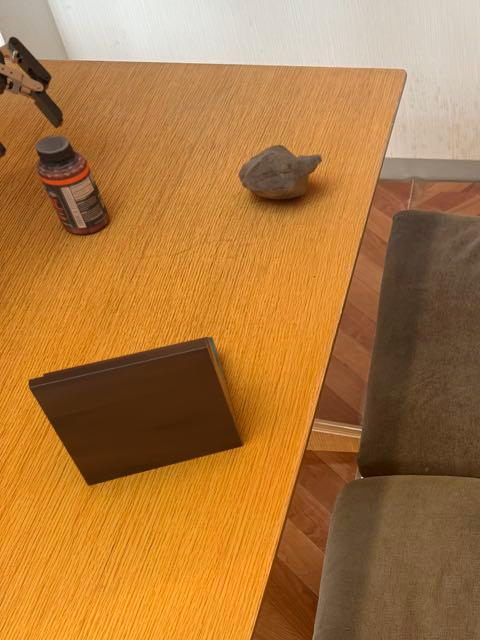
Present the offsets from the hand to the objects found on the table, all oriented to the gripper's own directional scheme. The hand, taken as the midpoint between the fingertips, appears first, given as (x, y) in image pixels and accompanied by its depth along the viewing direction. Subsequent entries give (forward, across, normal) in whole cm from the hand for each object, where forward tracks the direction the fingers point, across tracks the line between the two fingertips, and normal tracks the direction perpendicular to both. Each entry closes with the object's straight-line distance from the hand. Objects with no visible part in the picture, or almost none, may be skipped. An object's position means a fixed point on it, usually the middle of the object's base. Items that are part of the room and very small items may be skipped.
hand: (32, 139), depth 112 cm
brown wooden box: (+35, -20, -20) cm, 44 cm away
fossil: (+23, +20, -8) cm, 31 cm away
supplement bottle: (+10, 0, +5) cm, 11 cm away
